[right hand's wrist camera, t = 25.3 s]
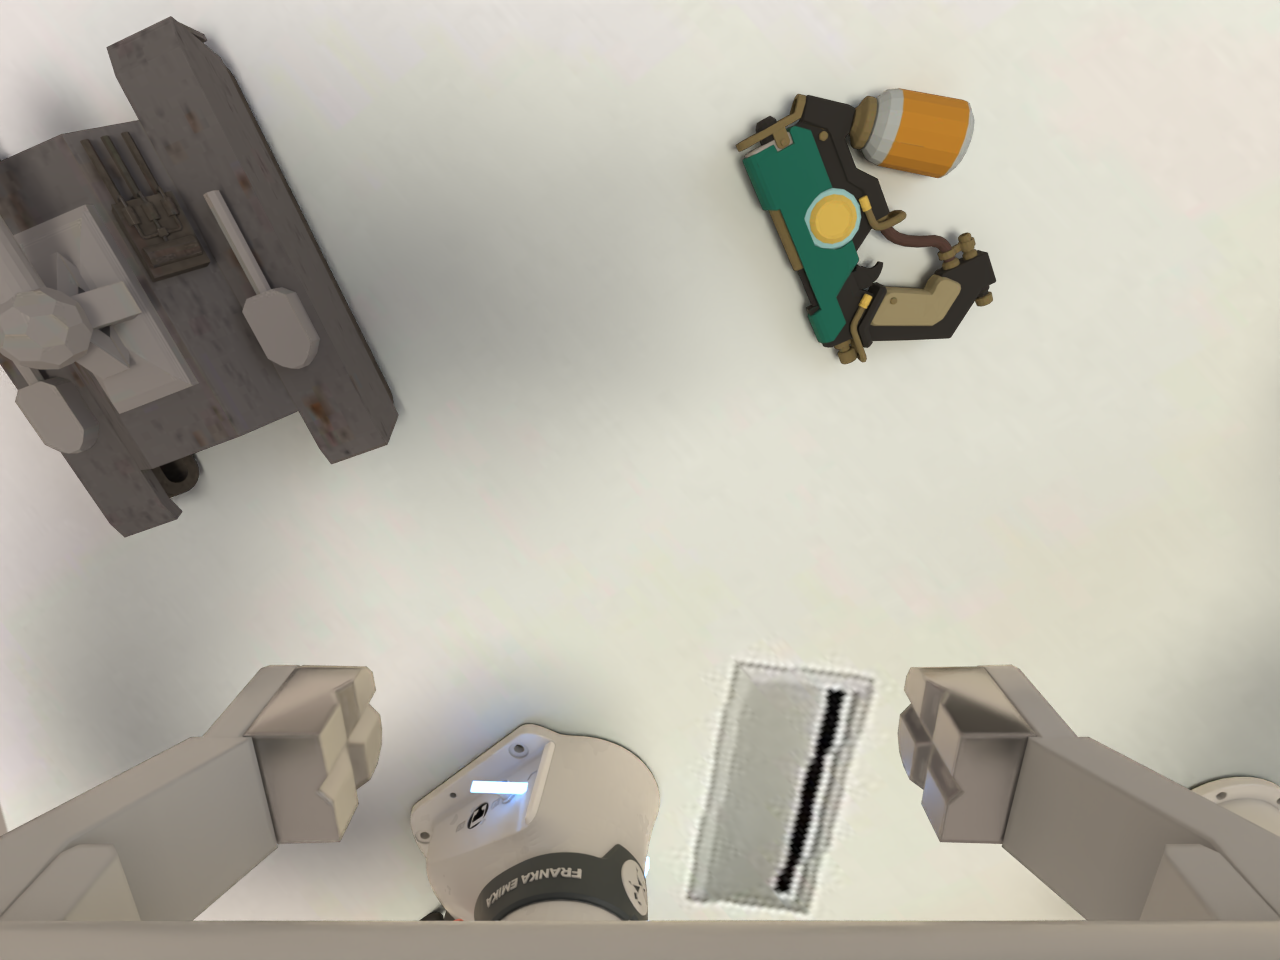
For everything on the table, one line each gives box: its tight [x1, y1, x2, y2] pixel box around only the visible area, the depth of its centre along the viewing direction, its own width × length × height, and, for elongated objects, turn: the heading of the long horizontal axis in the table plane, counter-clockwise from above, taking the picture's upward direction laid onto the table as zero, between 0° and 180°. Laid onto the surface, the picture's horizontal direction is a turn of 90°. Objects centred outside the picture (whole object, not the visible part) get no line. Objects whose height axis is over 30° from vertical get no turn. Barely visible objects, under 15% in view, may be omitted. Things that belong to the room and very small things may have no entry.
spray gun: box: [736, 89, 996, 364], centre depth 44 cm, size 4×17×15 cm
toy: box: [0, 16, 398, 537], centre depth 40 cm, size 25×20×15 cm
